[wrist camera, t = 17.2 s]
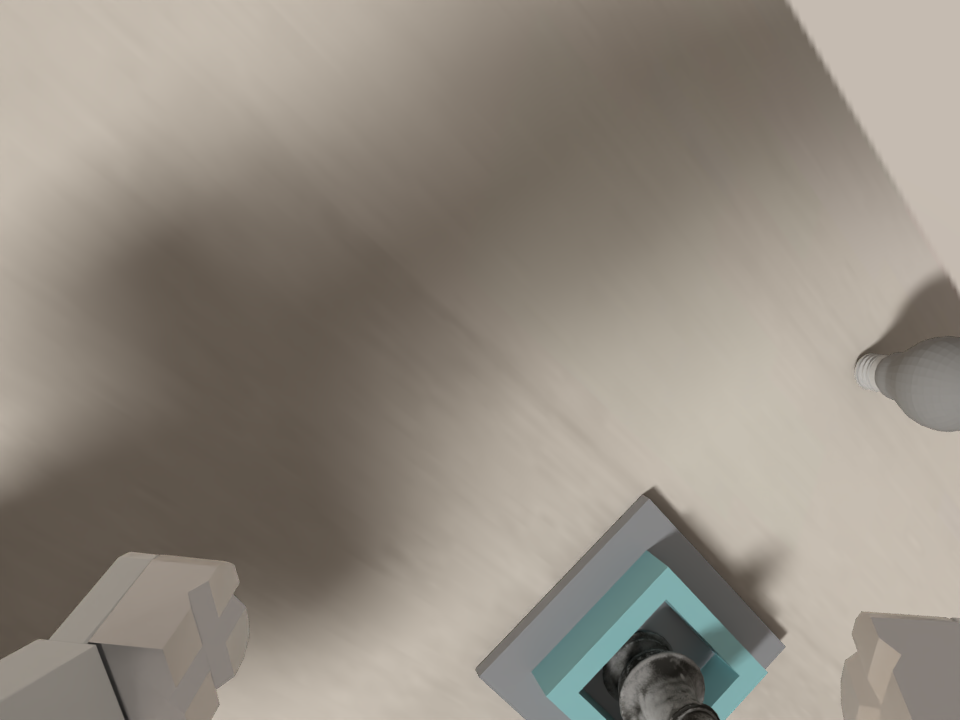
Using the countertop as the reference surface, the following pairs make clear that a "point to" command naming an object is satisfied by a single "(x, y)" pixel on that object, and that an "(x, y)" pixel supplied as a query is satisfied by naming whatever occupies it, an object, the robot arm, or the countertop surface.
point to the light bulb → (919, 381)
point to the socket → (630, 625)
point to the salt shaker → (655, 681)
